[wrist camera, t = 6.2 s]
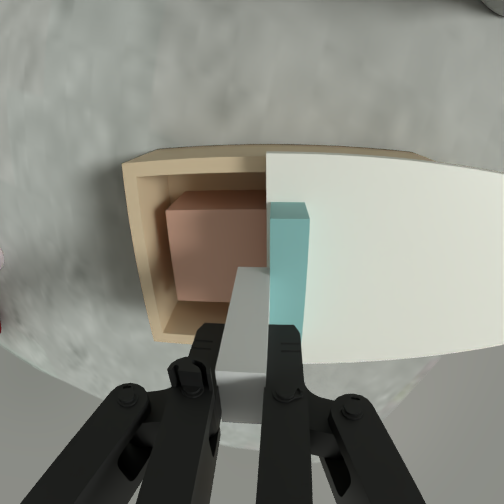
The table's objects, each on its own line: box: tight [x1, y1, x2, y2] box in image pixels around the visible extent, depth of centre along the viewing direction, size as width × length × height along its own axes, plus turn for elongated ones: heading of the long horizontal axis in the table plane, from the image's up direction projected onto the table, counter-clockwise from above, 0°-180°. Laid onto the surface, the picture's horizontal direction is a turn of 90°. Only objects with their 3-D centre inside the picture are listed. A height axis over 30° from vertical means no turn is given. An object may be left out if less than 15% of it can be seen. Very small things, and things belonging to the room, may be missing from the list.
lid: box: [266, 151, 504, 364], centre depth 15 cm, size 13×19×3 cm
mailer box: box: [122, 144, 436, 344], centre depth 20 cm, size 12×18×6 cm, turn 91°
